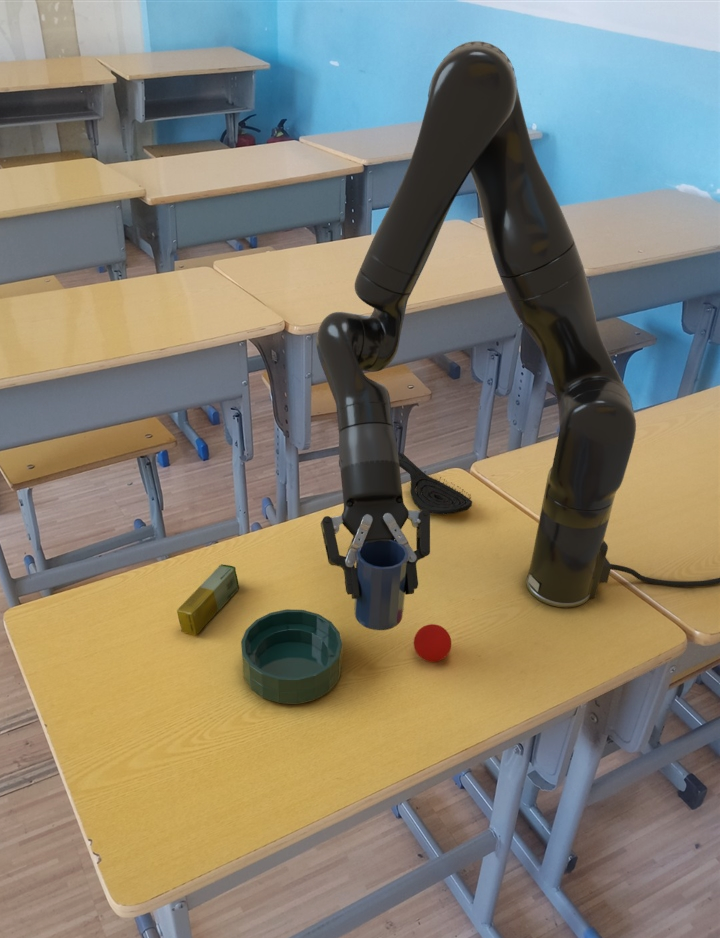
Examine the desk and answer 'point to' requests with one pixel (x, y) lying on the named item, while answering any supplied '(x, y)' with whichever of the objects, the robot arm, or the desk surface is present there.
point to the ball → (432, 643)
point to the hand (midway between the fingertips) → (383, 595)
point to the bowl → (291, 656)
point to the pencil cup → (381, 584)
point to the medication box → (208, 599)
